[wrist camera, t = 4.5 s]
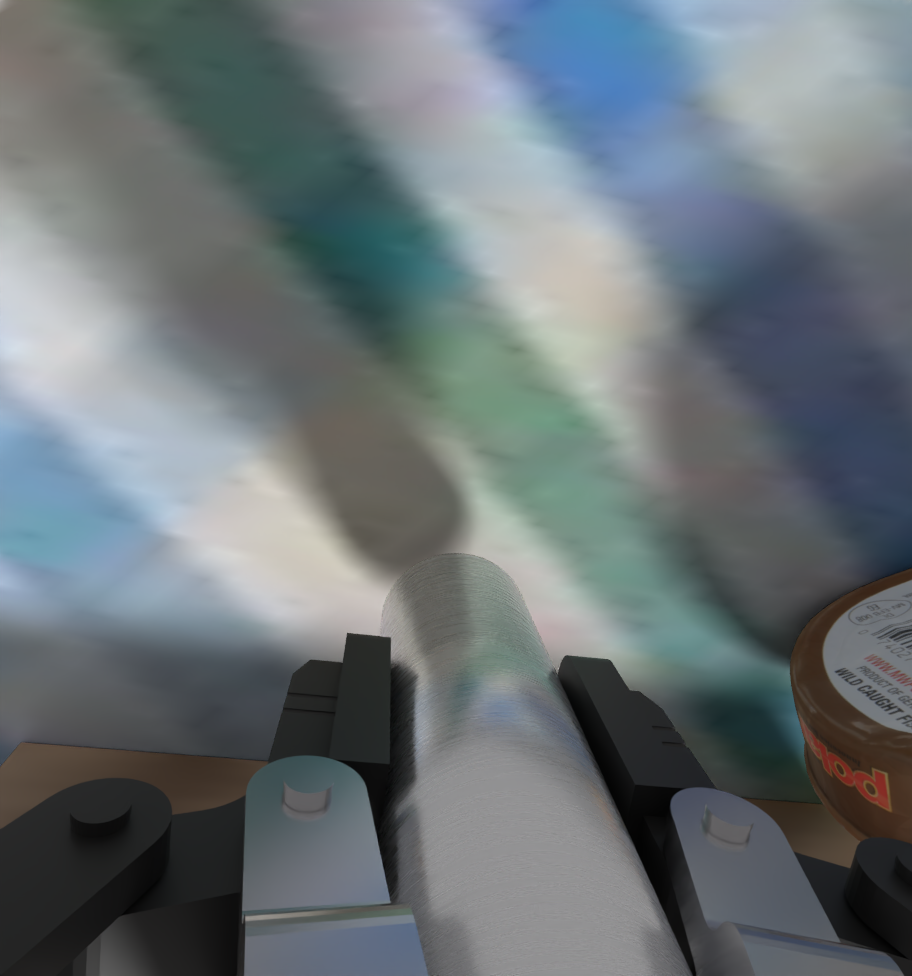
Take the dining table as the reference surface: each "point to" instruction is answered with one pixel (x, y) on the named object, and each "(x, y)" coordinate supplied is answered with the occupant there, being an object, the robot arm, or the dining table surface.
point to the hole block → (225, 780)
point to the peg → (502, 795)
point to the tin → (860, 707)
